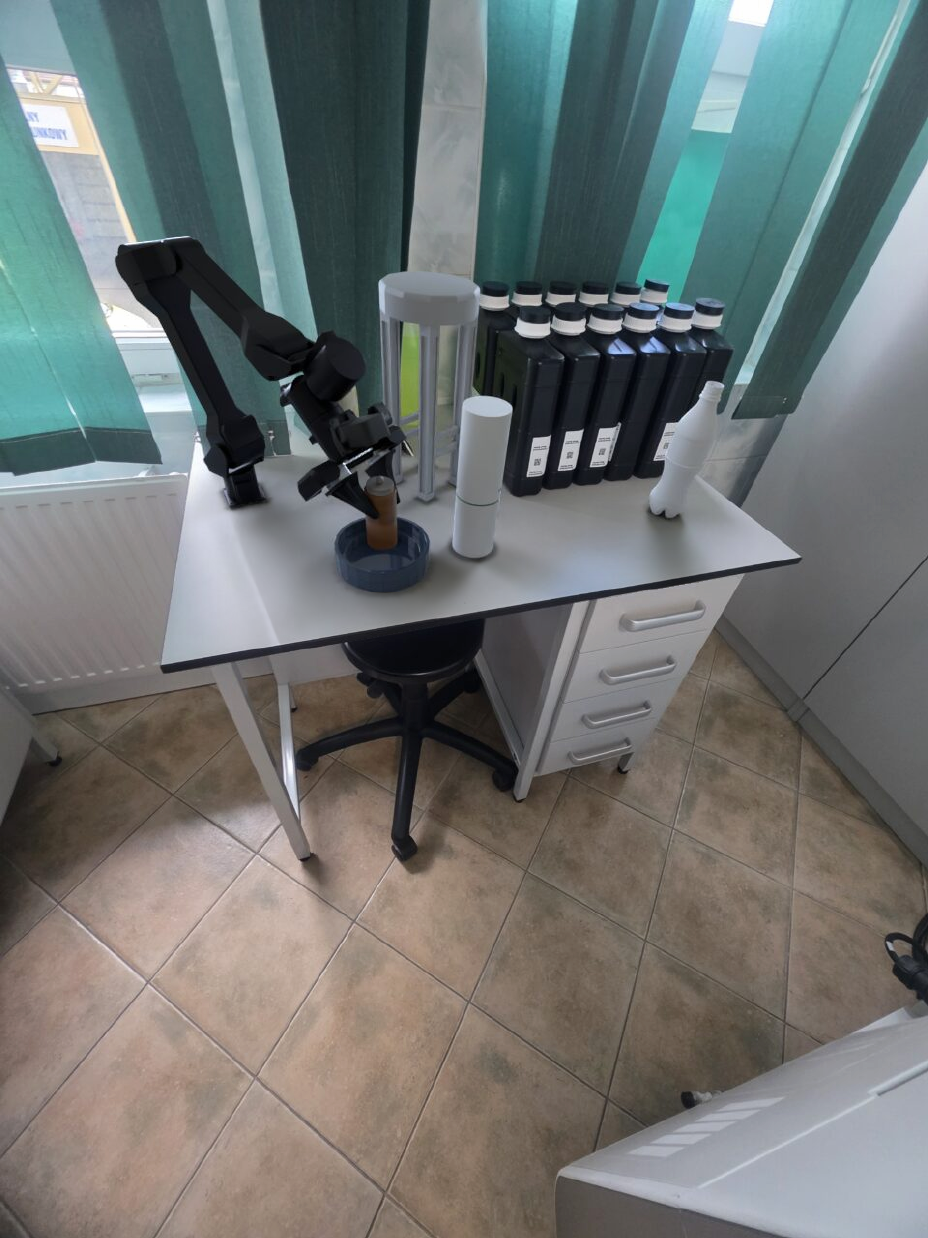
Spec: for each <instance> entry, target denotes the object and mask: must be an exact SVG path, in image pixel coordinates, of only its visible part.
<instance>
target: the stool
mask: <svg viewBox="0 0 928 1238" xmlns="http://www.w3.org/2000/svg"><path fill="white" fill-rule="evenodd" d="M480 301H481V288H480V286H479V285H478V284H476V283H475V282H473V281H472V280H471V279H468V278H465V277H461V276H458V275H454V274H450V273H442V272H435V271H434V272H433V271H413V270H412V271H411V270H410V271H409V270H408V271H407V270H406V271H400V272H393V273H388V274H387V275H385V276H384V277H382V278H381V279H380V280H379V281H378V304H379V306H378V307H379V329H380V331H379V332H380V353H381V354H380V356H381V381H382V383H381V384H382V402H383V404H384V405H385V406H386V408H387V409H388V410H389V412H390V414H391V416H392V419H393V422H392V424H391V425H389V426H388V427H390V426H392V425H395V426H398V427H400V428H401V429H402V427H404V426H406V425H408V424H411V423H414V422H416V421H418V426H415V427H413V428H411V429H408V430H405V431H403V433H404V434H405V436H406V438H407V439H406V440H410V439H412V438H414V437H417V436H418V437H417V439H418V440H417V497H418V498H419V499H421V500H423V501H424V502H428V501H430V500H432V499H435V482H436V481H435V478H436V459H438V458H440V457H442V456H444V455H446V454H449V453H450V460H449V477H448V479H449V480H448V481H449V482H448V483H449V484H451V485H453V486H455V487H457V474H458V460H459V447H460V433H461V420H462V406H463V402H464V401H465V400H466V399H468V398H471V397H473V396H472V395H473V387H474V386H473V385H474V373H475V361H476V360H475V359H476V350H477V338H478V337H477V336H478V324H479V314H480V313H479V312H480ZM400 322H402V323H406V324H407V323H408V324H416V325H419V327H418V336H419V337H418V340H419V341H418V410H417V411H414V412H412V413H409V414H407V415H404V416H402V395H401V394H402V393H401V391H402V390H401V387H402V386H401V328H400V327H401V325H400ZM442 326H443V327H445V326H446V327H447V326H457V342H456V344H457V345H456V360H455V377H454V378H455V379H454V394H453V412H452V426H450V427H448V428H445V429H443V430H441V431H438V432H437V424H438V423H437V422H438V421H437V420H438V399H439V398H438V394H439V393H438V392H439V367H440V339H441V338H440V337H441V327H442ZM450 437H451V442H448V443H446V444H444V445H441V446H439V447H437V443H439V442H442V441H443V440H446V439H448V438H450ZM406 440H404V441H403V442H405V441H406ZM394 449H395V448H394ZM402 451H403V450H402V443H401V444H399V445H398V446H397V447H396V453H394V454H393V460H392V469H393V475H394V479H395V482H396V485H397V484H400V483H402V482H403V469H402V468H403V463H402V461H403V459H402V457H403V456H402Z"/></svg>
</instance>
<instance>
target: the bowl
mask: <svg viewBox="0 0 928 1238" xmlns="http://www.w3.org/2000/svg"><path fill="white" fill-rule="evenodd" d="M333 547H334V548H333V549H334V555H335V556H334V557H335V562H336V570H337V572H338V574H339V575H340V578H342V579H343V580H344V581H346V582H347V584H349V585H351V586H353V587H355V588H357V589H360V590H364V591H366V592H367V591H368V592H371V593H389V592H390V593H391V592H398V591H401V590H404V589H408V588H409V587H412V586H413V585H415V584H418V583H419V582H420V581H421V580H422V579H423V578H424V577H425V576H426V574H427V573H428V570H429V568H430V562H431V561H430V559H431V558H430V557H431V540H430V537H429V535H428V532H426V530H425V529H424V528H423V527H422V526H420V525H419V524H417V523H416V522H414V521H412V520H411V519H408V518H404V517H401V516H397V544H396V545H395V546H394V547H393V548H391V549H388V550H376V549H374V548H372V547H370V546H369V545H368V543H367V530H366V516H364V517H360V518H358V519H355V520H353V521H351V522H349V523H347V524H346V525H344V526H343V527H342V528H341V529H340V530H339V531H338V532H337V533H336V535H335V538H334V542H333Z"/></svg>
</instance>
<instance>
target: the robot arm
mask: <svg viewBox="0 0 928 1238" xmlns="http://www.w3.org/2000/svg"><path fill="white" fill-rule="evenodd" d="M116 251H117V252H116V254H117V255H116V256H115V257H114V263H115V269H116V270H117V272H118V274H119V277H120V278H121V279H122V281H123V282H124V283H125V284H126V286H127V287H128V289H129V290H130V293H131V294H132V296H133V297H134V299H135V300H136V302H138V303H139V304H140V305H142V307H144V308H145V309H146V310H147V311H149V312H150V313H151V314H152V315H153V316H154V317H156V318H157V320H158V321H159V323H160V326H161V328H162V329H163V331H164V334H165V335H166V338H167V340H168V341H169V343H170V345H171V347H172V350H173V352H174V353H175V355H176V357H177V360H178V361H179V364H180V365H181V367H182V369H183V371H184V374H185V375H186V377H187V379H188V381H189V383H190V385H191V387H192V389H193V391H194V393H195V395H196V397H197V399H198V401H199V403H200V405H201V407H202V410H203V411H204V413H205V415H206V420H205V421H206V422H205V437H206V439H207V442H208V444H209V447H210V448H209V450H208V452H207V453H206V455H205V456H204V458H203V462H204V464H205V466H206V468H207V470H208V472H211V473H213V474H214V475H217V476H219V477H220V478H222V480H223V483H224V488H222V491H223V493H224V496H225V498H226V501H227V504H228V507H229V508H236V507H241V506H246V505H252V504H256V503H261V502H265V501H267V498H266V495H265V493H264V491H263V488H262V487H261V486H260V483H259V481H258V477H257V473H256V468H255V466H256V465H257V464H259V463H262V462H264V461H265V450H266V442H265V435H264V434H263V433H262V431H261V429H260V428H259V425H258V422H257V419H256V417H255V416H254V415H253V414H251V413H250V414H247V413H246V412H244V411H243V410H241V409H240V408H239V407H238V406H237V405H236V403H235V400H234V399H233V396H232V395H231V392H230V390H229V387H228V386H227V384H226V382H225V379H224V377H223V376H222V373H221V371H220V369H219V367H218V365H217V363H216V360H215V358H214V355H213V354H212V352H211V350H210V348H209V346H208V343H207V341H206V339H205V337H204V335H203V333H202V331H201V328H200V326H199V324H198V322H197V320H196V318H195V315H194V313H193V311H192V307H191V305H192V304H191V303H192V302H191V301H192V292H193V293H194V294H195V295H196V296H197V297H198V298H199V300H201V302H203V303H204V304H205V305H206V306H207V307H208V308H209V309H210V310H211V311H212V312H213V313H214V315H216V317H218V318H219V319H220V320H221V321H222V322H223V323H224V324H225V325H226V326H227V327H228V328H229V329H230V330H231V331H232V332H233V333H234V334H235V336H236V337H237V338H238V339H239V340H240V345H241V348H242V353H243V356H244V357H245V358H246V359H247V361H248V362H249V363H250V364H251V366H252V367H253V368H254V369H255V370H256V372H257V373H258V374H259V376H261V377H262V378H263V379H264V380H266V381H268V382H270V383H271V382H278V381H281V380H284V379H286V378H289V377H292V376H294V375H295V377H294V378H293V379H292V381H290V382H287V383H285V384H282V385H280V386H279V390H280V395H279V406H280V407H281V408H285V407H287V406H292V408H293V409H294V411H295V413H296V414H297V415H298V416H299V418H300V419H301V421H302V423H304V425H305V427H306V428H307V430H308V432H309V433H310V434H311V435H310V436H309V437H308V441H309V442H310V444H311V445H312V446H313V445H316V444H318V446H319V447H320V448H321V450H322V451H323V453H324V454H325V455H326V457H327V458H328V459H327V460H325V461H323V462H321V463H320V464H318V465H316V466H314V467H313V468H311V469H309V471H308V472H306V473H305V474H304V475H303V476H302V477H301V478H300V479H299V480H297V483H296V485H297V491H298V493H299V495H300V496H301V498H302V499H303V500H304V502H306V503H307V502H309V501H310V500H312V499H314V498H316V497H317V496H319V495H320V494H322V492H323V491H322V490H323V488H324V487H326V489H327V490H328V491H326V492H325V493H324V496H325V497H327V498H328V497H330V496H331V497H333V498H335V499H338V500H339V501H341V502H343V503H345V504H347V505H349V506H350V507H353V508H354V509H356V510H358V511H359V512H361V513H362V514H364V515H365V514H366V515H367V516H369V517H371V518H372V519H374V520H376V519H378V518H379V514H378V512H377V510H376V509H375V507H374V505H373V504H372V502H371V501H370V499H369V498H368V496H367V495H366V493H365V492H364V488H363V487H362V486H361V484H360V480H359V479H360V478H359V472H358V471H357V470H355V471H354V472H352V473H351V470H354V469H355V468H357V467H358V466H361V465H362V464H363V463H366V465H367V468H365V469H364V473H365V474H366V475H367V476H368V477H369V479H370V478H372V477H376V476H384V477H387V478H390V479H391V480H392V481H393V483H394V486H395V487H396V489H397V505H399V504H400V503H401V502H402V501H401V497H400V493H399V490H398V486H397V484H396V482H395V479H394V475H393V469H392V460H393V454H394V453H396V447H397V446H398V445H399V444H401V445H402V443H403V442H405V441H406V439H407V438H406V436H405V434H404V433H403V432H404V431H403V430H402V427H401V428H400V427H398V426H395V425H392V426H390V427H388V426H389V425H391V424H392V422H393V419H392V416H391V414H390V412H389V410H388V409H387V408H386V406H385V405H384V404H383V401H380V402H376V403H374V404H372V405H369V406H367V413H366V414H364V415H361V416H359V417H357V416H356V415H355V413H354V412H353V411H351V410H350V409H348V410H346V411H344V410H343V409H342V407H341V406H340V404H339V403H338V401H340V400H342V399H343V398H344V397H345V396H346V395H347V394H348V393H349V392H350V390H351V389H352V388H353V387H354V386H355V387H356V386H357V384H358V383H359V382H360V381H361V380H362V379H363V378H364V377H365V375H366V373H367V362H366V359H365V356H364V355H363V352H362V351H361V350H360V348H359V347H356V346H355V345H354V344H353V343H352V342H350V341H349V340H347V339H345V338H343V337H341V336H340V337H339V336H338V335H337V333H336V332H335V330H334V329H328V330H324V331H322V332H320V333H319V335H318V336H317V338H316V341H314V340H312V339H310V338H309V337H306V336H305V335H304V332H302V331H301V330H300V329H298V328H297V327H296V326H295V325H294V324H292V323H291V322H289V321H288V320H287V319H285V317H283V316H280V315H278V314H276V313H275V314H274V313H272V312H269V311H267V310H265V309H264V308H262V307H261V306H259V305H258V303H256V302H255V300H254V299H252V297H251V296H249V294H248V293H246V291H245V290H244V289H243V288H242V287H240V286H239V284H238V283H237V282H235V280H234V279H233V278H231V276H230V275H229V274H228V273H227V272H225V270H224V269H223V268H222V267H220V265H219V264H218V263H217V262H216V261H214V259H213V258H212V257H211V256H210V255H208V253H207V252H206V249H205V248H204V246H203V244H202V243H201V241H200V240H198V239H197V238H195V237H192V236H188V235H185V236H176V237H169V238H167V237H166V238H163V239H154V240H148V241H147V240H146V241H138V242H129V243H122V244H119V245H118V246H117V250H116ZM300 373H302V374H300ZM297 374H300V375H297ZM296 375H297V376H296ZM404 440H405V441H404ZM407 440H408V439H407ZM394 448H395V449H394ZM347 460H348V461H347ZM345 461H347V462H345ZM344 462H345V463H344Z"/></svg>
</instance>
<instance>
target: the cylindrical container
mask: <svg viewBox="0 0 928 1238" xmlns="http://www.w3.org/2000/svg"><path fill="white" fill-rule="evenodd" d="M512 416H513V406H512V404H511V403H510V402H508V401H506V400H504V399H502V398H499V397H495V396H489V395H479V396H478V395H476V396H472V397H471V398H468V399H466V400H465V401H464V402H463V406H462V420H461V433H460V447H459V460H458V474H457V486H456V487H455V488H456V489H455V503H454V519H453V530H452V531H453V532H452V548H453V550H454V551H455V552H456V553H457V554H459V555H461V556H463V557H465V558H470V559H479V558H484V557H486V556H488V555H490V554H491V553H492V551H493V548H494V541H495V534H496V527H497V520H498V513H499V507H500V499H501V491H502V486H503V485H502V484H503V479H504V471H505V464H506V457H507V449H508V443H509V437H510V429H511V423H512Z"/></svg>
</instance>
